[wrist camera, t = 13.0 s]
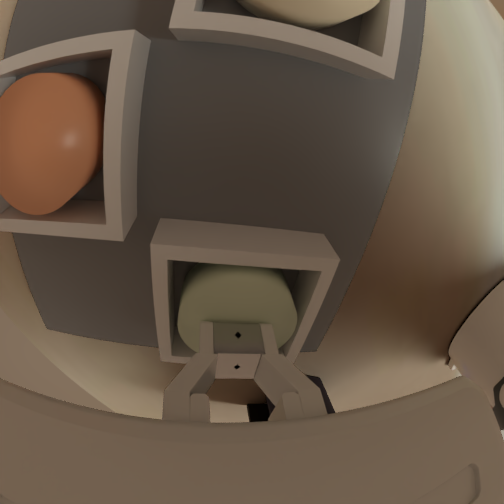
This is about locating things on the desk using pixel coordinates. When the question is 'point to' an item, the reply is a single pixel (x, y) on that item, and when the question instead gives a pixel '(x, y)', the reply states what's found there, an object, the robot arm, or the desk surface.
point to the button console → (213, 156)
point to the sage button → (235, 300)
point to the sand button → (308, 11)
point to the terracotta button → (49, 140)
